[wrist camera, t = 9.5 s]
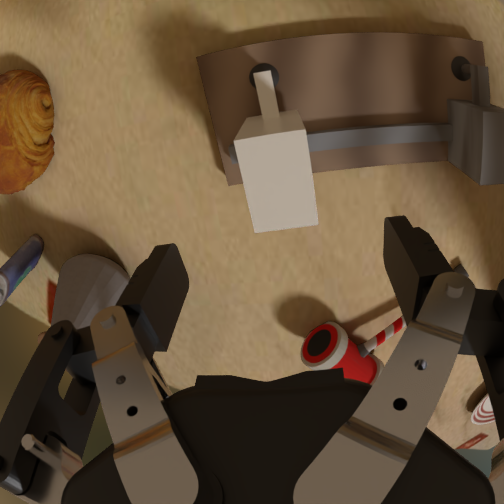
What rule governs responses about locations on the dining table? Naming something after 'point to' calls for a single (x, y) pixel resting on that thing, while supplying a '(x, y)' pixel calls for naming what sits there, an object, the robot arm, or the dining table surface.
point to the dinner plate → (483, 412)
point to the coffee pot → (86, 289)
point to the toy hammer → (349, 349)
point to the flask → (19, 266)
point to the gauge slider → (276, 164)
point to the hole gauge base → (366, 100)
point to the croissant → (24, 129)
